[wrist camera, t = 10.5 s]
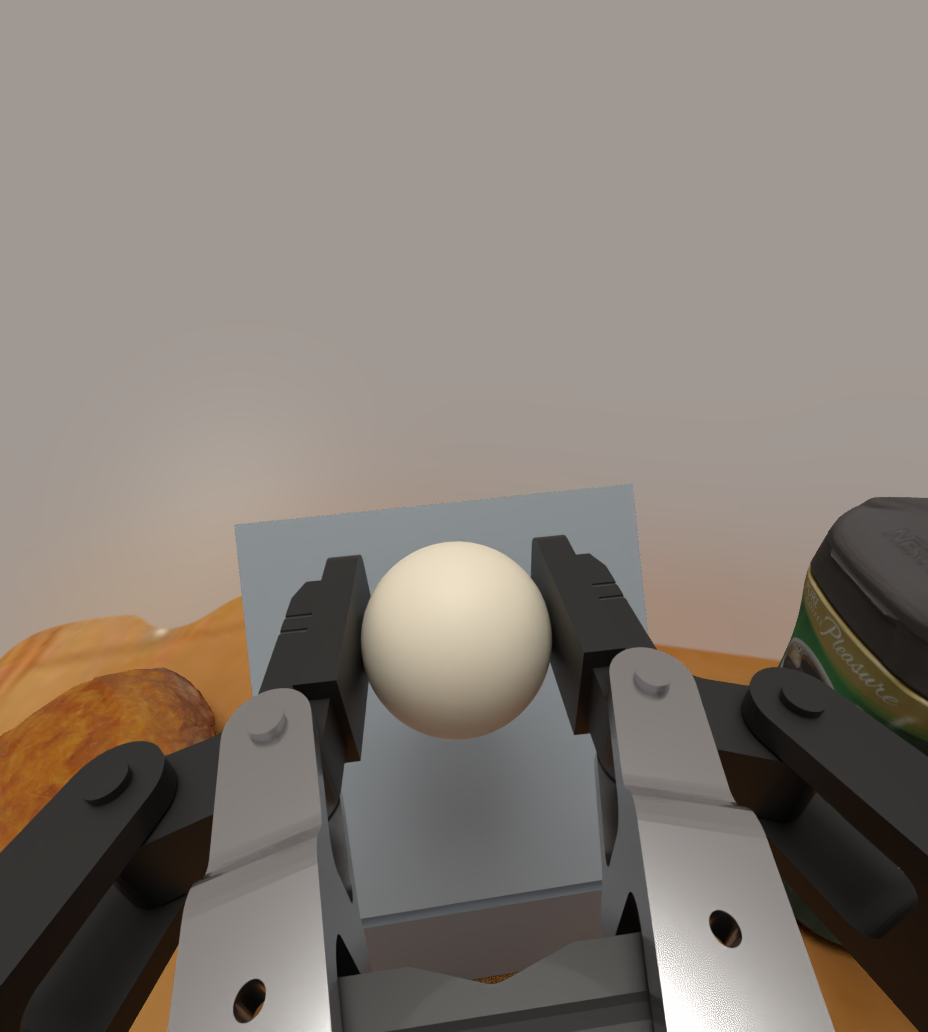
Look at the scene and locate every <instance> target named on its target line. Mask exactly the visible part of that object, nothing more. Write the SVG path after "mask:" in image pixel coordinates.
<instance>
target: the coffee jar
mask: <svg viewBox="0 0 928 1032" xmlns="http://www.w3.org/2000/svg"><path fill="white" fill-rule="evenodd" d="M778 667H781V668H789V669H793V670H797V671H800V672H803V673H806V674H808V675H811V676H813V677H815V678H817V679H818V680H820V681H822V682H824V683H825V684H827V685H828V686H830V687H831V688H832V689H834V690H835V691H837V692H838V693H839V694H841V695H842V696H844V697H845V698H846V699H848V700H849V701H851V702H852V703H853V704H855V705H856V706H857V707H859V708H860V709H862V710H863V711H864V712H866V713H867V714H869V715H870V716H871V717H873V718H874V719H876V720H877V721H878V722H880V723H881V724H883V725H884V726H885V727H887V728H888V729H890V730H891V731H892V732H894V733H895V734H897V735H898V736H899V737H901V738H902V739H903V740H905V741H906V742H908V743H909V744H910V745H912V746H913V747H915V748H916V749H917V750H919V751H920V752H922V753H923V754H924V755H926V756H927V757H928V498H910V497H875V498H871V499H869V500H867V501H865V502H864V503H862V504H861V505H859V506H857V507H855V508H853V509H851V510H849V511H848V512H846V513H844V514H843V515H842V516H840V517H839V518H838V520H837V521H836V522H835V523H834V525H833V526H832V527H831V529H830V530H829V531H828V534H827V535H826V537H825V539H824V540H823V542H822V544H821V545H820V547H819V549H818V551H817V552H816V554H815V556H814V557H813V559H812V561H811V563H810V566H809V568H808V571H807V575H806V579H805V583H804V589H803V595H802V601H801V606H800V611H799V615H798V619H797V622H796V625H795V628H794V632H793V634H792V637H791V640H790V642H789V645H788V647H787V649H786V651H785V653H784V656H783V658H782V660H781V662H780V664H779V666H778ZM816 793H817V792H816ZM817 794H818V795H819V796H820V797H821V798H822V799H823V800H824V801H825V802H827V801H826V800H825V799H824V798H823V797H822V796H821V795H820V794H819V793H817ZM827 803H828V802H827ZM828 804H829V803H828ZM829 805H830V806H831V807H832V808H833V809H834V810H835V811H836V812H837V813H839V812H838V811H837V810H836V809H835V808H834V807H833V806H832V805H831V804H829ZM839 814H840V813H839ZM840 815H841V814H840ZM841 816H842V817H843V818H844V819H845V820H846V821H847V822H848V823H849V824H851V823H850V822H849V821H848V820H847V819H846V818H845V817H844V816H843V815H841ZM851 825H852V824H851ZM852 826H853V827H854V828H855V829H856V830H857V831H858V832H859V833H860V834H861V835H863V834H862V833H861V832H860V831H859V830H858V829H857V828H856V827H855V826H854V825H852ZM863 836H864V835H863ZM864 837H865V838H866V839H867V840H868V841H869V842H870V843H871V844H872V845H873V846H875V845H874V844H873V843H872V842H871V841H870V840H869V839H868V838H867V837H866V836H864ZM875 847H876V846H875ZM876 848H877V849H878V850H879V851H880V852H881V853H882V854H883V855H884V856H885V857H887V856H886V855H885V854H884V853H883V852H882V851H881V850H880V849H879V848H878V847H876ZM887 858H888V859H889V860H890V861H891V862H892V863H893V864H894V865H895V866H896V867H897V868H899V867H898V866H897V865H896V864H895V863H894V862H893V861H892V860H891V859H890V858H889V857H887ZM899 869H900V868H899ZM900 870H901V869H900ZM901 871H902V870H901ZM902 872H903V871H902ZM903 873H904V872H903ZM904 874H905V873H904ZM780 877H781V880H782V883H783V886H784V888H785V891H786V894H787V897H788V900H789V903H790V905H791V908H792V911H793V914H794V917H795V918H796V919H797V920H798V921H800V922H801V923H802V924H803V925H804V926H806V927H807V928H808V929H810V930H811V931H812V932H814V933H816V934H818V935H819V936H821V937H823V938H825V939H827V940H829V941H831V942H833V943H836V944H838V945H841V946H843V945H842V944H841V943H840V942H839V941H838V939H837V938H836V937H835V936H834V935H833V934H832V933H831V932H830V930H829V929H828V928H827V927H826V926H825V925H824V924H823V923H822V921H821V920H820V919H819V918H818V917H817V916H816V915H815V914H814V912H813V911H812V910H811V909H810V908H809V907H808V906H807V905H806V903H805V902H804V901H803V900H802V899H801V898H800V897H799V896H798V894H797V893H796V892H795V891H794V890H793V889H792V888H791V887H790V885H789V884H788V883H787V882H786V881H785V880H784V879H783V878H782V876H781V875H780ZM843 947H844V946H843Z"/></svg>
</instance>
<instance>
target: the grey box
mask: <svg viewBox="0 0 928 1032" xmlns="http://www.w3.org/2000/svg"><path fill="white" fill-rule="evenodd" d="M601 898H602V880H598V881H592V882H586V883H579V884H573V885H567V886H561V887H555V888H548V889H542V890H536V891H530V892H524V893H517V894H511V895H505V896H499V897H493V898H486V899H480V900H474V901H468V902H462V903H455V904H449V905H443V906H437V907H431V908H424V909H418V910H412V911H406V912H400V913H393V914H387V915H381V916H375V917H369V918H362V919H361V921H362V926H363V929H364V933H365V938H366V942H367V947H368V952H369V958H370V963H371V969H372V972H378V971H385V970H391V969H398V968H405V967H412V968H417V969H422V970H426V971H431V972H435V973H440V974H445V975H449V976H454V977H459V978H463V979H468V980H474V979H480V978H486V977H491V976H497V975H503V974H509V973H515V972H520V971H522V970H524V969H526V968H528V967H529V966H531V965H533V964H535V963H537V962H538V961H540V960H542V959H544V958H546V957H547V956H549V955H551V954H553V953H555V952H556V951H558V950H560V949H562V948H564V947H565V946H567V945H569V944H571V943H573V942H578V941H584V940H591V939H598V938H602V925H601Z"/></svg>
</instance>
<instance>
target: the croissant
mask: <svg viewBox="0 0 928 1032" xmlns="http://www.w3.org/2000/svg"><path fill="white" fill-rule="evenodd" d="M214 725H215V719H214V715H213V713H212V710H211V708H210V707H209V705H208V704H207V702H206V701H205V699H204V697H203V696H202V694H201V693H200V691H199V690H197V689H196V688H195V687H194V685H193V684H192V683H191V682H190V681H188V680H187V679H186V678H185V677H182V676H180V675H179V674H178V673H175V672H173V671H171V670H168V669H166V668H154V669H134V670H128V671H124V672H120V673H116V674H109V675H105V676H100V677H95V678H94V679H93V680H91V681H88V682H85V683H82V684H80V685H77V686H75V687H73V688H71V689H70V690H68V691H66V692H65V693H63V694H62V695H60V696H58V697H57V698H55V699H54V700H53V701H51V702H50V703H48V704H47V705H45V706H44V707H42V708H41V709H39V710H38V711H36V712H35V713H33V714H32V715H31V716H29V717H28V718H27V719H25V720H24V721H23V722H21V723H20V724H19V725H18V726H17V727H15V728H14V729H12V730H10V731H8V732H6V733H4V734H2V735H1V736H0V853H1V852H2V850H3V849H4V848H5V847H6V846H7V845H8V844H9V843H10V842H11V841H12V840H13V839H14V838H15V837H16V836H17V835H18V834H19V833H20V832H21V831H22V829H23V828H24V827H25V826H26V825H27V824H28V823H29V822H30V821H31V820H32V819H33V818H34V817H35V816H36V815H37V814H38V813H39V812H40V811H41V809H42V808H43V807H44V806H45V805H46V804H47V803H48V802H49V801H50V800H51V799H52V798H53V797H54V796H55V795H56V794H57V793H58V792H59V791H60V789H61V788H62V787H63V786H64V785H65V784H66V783H67V782H68V781H69V780H70V779H71V778H72V777H73V776H74V775H75V774H76V773H77V772H78V771H79V770H80V769H81V768H82V767H84V766H85V765H86V764H87V763H89V762H90V761H91V760H93V759H94V758H96V757H97V756H99V755H100V754H102V753H104V752H106V751H107V750H109V749H112V748H114V747H116V746H119V745H122V744H125V743H129V742H133V741H147V742H151V743H154V744H155V745H157V746H158V747H159V748H160V749H161V751H162V752H163V754H164V755H165V756H166V755H169V754H171V753H174V752H176V751H179V750H181V749H184V748H186V747H189V746H191V745H194V744H196V743H199V742H201V741H204V740H206V739H209V738H211V737H213V736H215V732H214V729H213V726H214Z"/></svg>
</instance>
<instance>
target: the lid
mask: <svg viewBox="0 0 928 1032" xmlns="http://www.w3.org/2000/svg"><path fill="white" fill-rule="evenodd" d="M234 527H235V536H236V545H237V554H238V563H239V573H240V582H241V592H242V601H243V611H244V620H245V629H246V639H247V648H248V657H249V666H250V676H251V685H252V694H253V697H254V696H256V695H258V693H259V690H260V687H261V684H262V681H263V679H264V676H265V673H266V670H267V667H268V664H269V661H270V658H271V655H272V653H273V650H274V647H275V644H276V641H277V638H278V635H280V630H281V627H282V624H283V621H284V619H285V618H286V617H285V615H286V612H287V609H288V606H289V604H290V601H291V598H292V597H293V596H294V595H295V593H296V592H297V591H298V590H299V589H300V588H301V587H302V586H303V585H304V583H305V582H309V581H318V580H321V579H322V575H323V571H324V568H325V564H326V561H327V559H328V558H330V557H340V556H350V555H361V556H362V558H363V562H364V566H365V571H366V576H367V581H368V585H369V590H370V595H371V597H370V600H369V602H368V605H367V608H366V610H365V613H364V618H363V622H362V628H361V653H362V659H363V665H364V669H365V672H366V675H367V678H368V680H369V684H368V694H367V704H366V714H365V723H364V733H363V743H362V753H361V761H358V762H350V763H345V764H344V772H343V779H342V787H341V792H342V795H343V800H344V807H345V814H346V822H347V829H348V836H349V843H350V850H351V857H352V864H353V871H354V878H355V886H356V893H357V900H358V906H359V912H360V917H361V919H362V918H369V917H375V916H381V915H387V914H393V913H400V912H406V911H412V910H418V909H424V908H431V907H437V906H443V905H449V904H455V903H462V902H468V901H474V900H480V899H486V898H493V897H499V896H505V895H511V894H517V893H524V892H530V891H536V890H542V889H548V888H555V887H561V886H567V885H573V884H579V883H586V882H592V881H598V880H602V865H601V852H600V838H599V825H598V811H597V798H596V785H595V771H594V758H595V752H596V749H595V746H594V743H593V741H592V738H591V735H590V733H589V734H581V735H574V734H573V731H572V728H571V725H570V722H569V719H568V716H567V712H566V709H565V706H564V703H563V700H562V697H561V694H560V691H559V688H558V685H557V682H556V679H555V676H554V673H553V670H552V667H551V664H550V658H551V652H552V628H551V622H550V617H549V613H548V610H547V607H546V603H545V601H544V599H543V597H542V595H541V592H540V591H539V589H538V587H537V586H536V584H535V583H534V581H533V580H532V579H531V551H532V540H533V538H535V537H545V536H555V535H565V536H566V537H567V538H568V540H569V542H570V544H571V546H572V548H573V550H574V552H575V554H576V555H577V554H587V553H590V554H591V555H592V556H594V557H595V558H596V559H598V560H599V561H600V562H602V563H603V564H604V565H606V566H607V568H608V570H609V571H610V573H611V575H612V576H613V578H614V580H615V581H616V585H618V586H619V588H620V590H621V591H622V593H623V596H624V598H626V600H627V601H628V603H629V605H630V606H631V608H632V609H633V611H634V613H635V614H636V616H637V618H638V619H639V621H640V623H641V624H642V626H643V628H644V629H645V631H646V633H647V634H648V629H647V620H646V609H645V600H644V590H643V580H642V570H641V561H640V551H639V541H638V532H637V522H636V512H635V503H634V494H633V484H626V485H616V486H606V487H597V488H587V489H577V490H567V491H558V492H549V493H538V494H529V495H520V496H510V497H500V498H490V499H480V500H470V501H461V502H451V503H441V504H433V505H423V506H412V507H404V508H403V507H402V508H394V509H384V510H374V511H364V512H354V513H345V514H334V515H326V516H315V517H306V518H296V519H286V520H276V521H267V522H257V523H248V524H238V525H234Z"/></svg>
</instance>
